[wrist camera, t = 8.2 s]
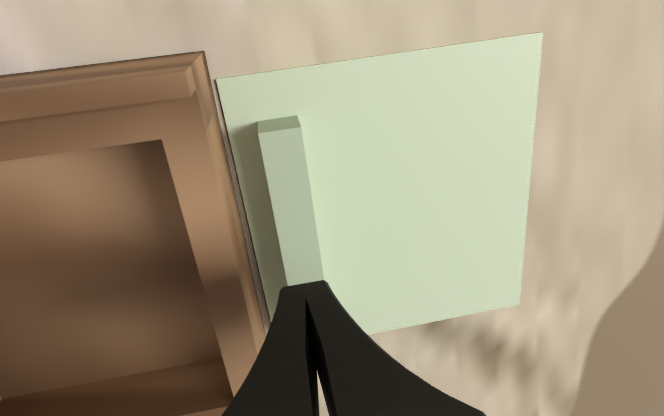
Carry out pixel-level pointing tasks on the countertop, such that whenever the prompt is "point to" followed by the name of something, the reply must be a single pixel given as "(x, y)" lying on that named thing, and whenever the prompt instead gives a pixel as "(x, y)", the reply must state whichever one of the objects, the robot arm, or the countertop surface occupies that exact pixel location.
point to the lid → (391, 177)
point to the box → (120, 244)
